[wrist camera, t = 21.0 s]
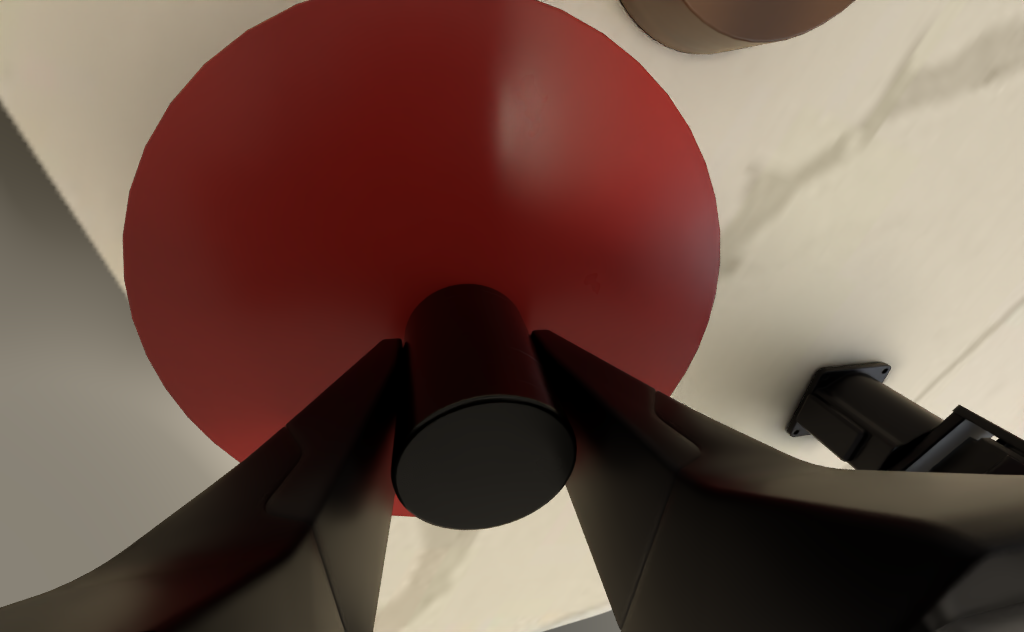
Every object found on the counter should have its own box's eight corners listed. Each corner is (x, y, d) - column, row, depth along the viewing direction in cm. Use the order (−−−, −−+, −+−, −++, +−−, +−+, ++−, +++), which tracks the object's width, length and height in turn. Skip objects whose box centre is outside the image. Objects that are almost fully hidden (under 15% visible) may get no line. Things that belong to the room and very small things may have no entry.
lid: (765, 29, 9) (1140, -59, 4) (641, 462, 15) (733, 614, 11) (11, -51, 6) (-1276, -550, 1) (252, 514, 13) (152, 746, 8)
